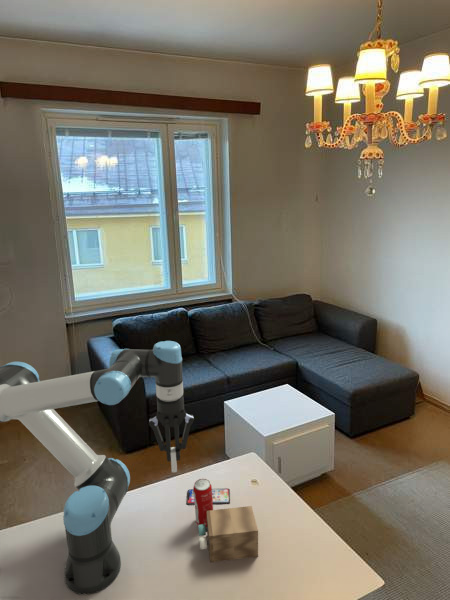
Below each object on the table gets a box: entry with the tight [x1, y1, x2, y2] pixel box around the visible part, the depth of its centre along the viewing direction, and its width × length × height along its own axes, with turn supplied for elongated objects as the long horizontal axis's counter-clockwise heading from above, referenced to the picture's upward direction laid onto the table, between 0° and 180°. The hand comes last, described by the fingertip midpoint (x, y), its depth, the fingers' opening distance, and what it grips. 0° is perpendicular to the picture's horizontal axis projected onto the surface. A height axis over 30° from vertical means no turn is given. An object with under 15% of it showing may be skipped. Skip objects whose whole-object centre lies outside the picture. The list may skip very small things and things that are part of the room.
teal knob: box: [197, 524, 208, 537], centre depth 128 cm, size 8×3×3 cm, turn 97°
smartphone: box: [186, 487, 231, 506], centre depth 148 cm, size 8×1×15 cm
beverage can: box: [192, 478, 214, 527], centre depth 135 cm, size 6×6×15 cm
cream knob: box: [198, 536, 209, 550], centre depth 123 cm, size 8×3×3 cm, turn 97°
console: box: [206, 505, 259, 563], centre depth 126 cm, size 14×10×9 cm
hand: (174, 469), depth 124 cm, fingers closed
